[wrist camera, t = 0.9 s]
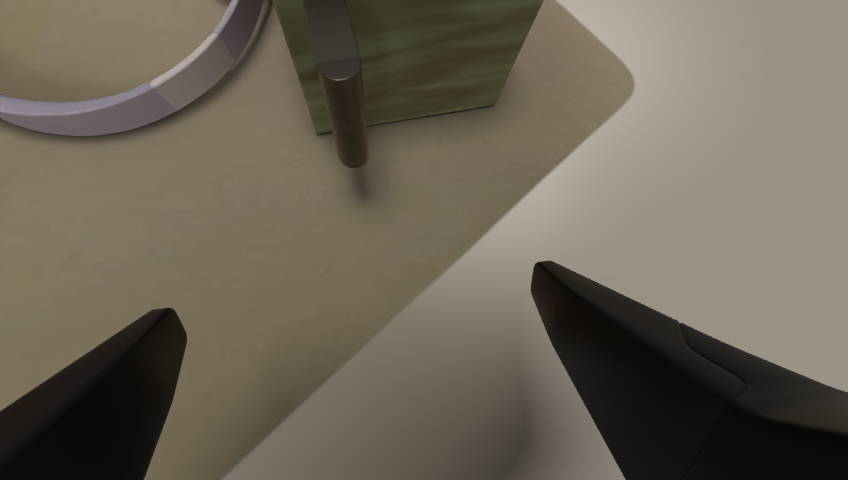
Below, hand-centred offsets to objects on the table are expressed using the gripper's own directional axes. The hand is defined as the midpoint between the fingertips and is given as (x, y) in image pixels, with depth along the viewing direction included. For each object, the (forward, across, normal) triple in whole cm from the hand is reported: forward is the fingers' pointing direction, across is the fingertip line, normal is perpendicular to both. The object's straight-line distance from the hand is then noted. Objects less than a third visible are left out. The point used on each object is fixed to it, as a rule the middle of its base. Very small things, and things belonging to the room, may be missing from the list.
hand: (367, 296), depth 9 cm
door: (+18, -4, +2) cm, 18 cm away
